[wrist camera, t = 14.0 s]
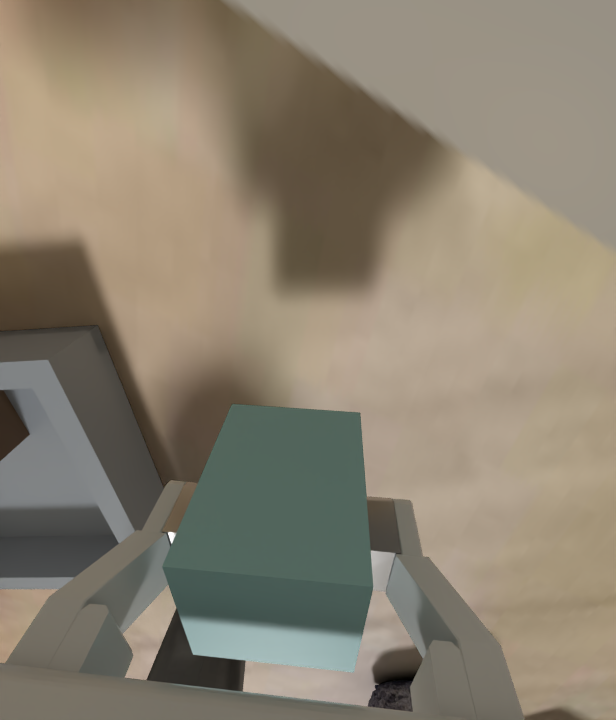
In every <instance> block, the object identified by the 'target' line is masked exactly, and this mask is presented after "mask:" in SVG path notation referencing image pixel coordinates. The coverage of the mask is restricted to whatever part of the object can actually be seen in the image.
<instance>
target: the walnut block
mask: <svg viewBox="0 0 616 720" xmlns="http://www.w3.org/2000/svg"><path fill="white" fill-rule="evenodd" d="M29 435H30V433H29V432H28V430H27V429H26V427H25V425H24V424H23V422H22V420H21V419H20V417H19V415H18V414H17V412H16V410H15V409H14V407H13V405H12V404H11V402H10V400H9V399H8V397H7V395H6V394H5V392H4V390H0V461H1V460H2V459H3V458H5V457H6V456H7V455H8V454H9V453H10V452H11V451H12V450H13V449H14V448H16V447H17V446H18V445H19V444H20V443H21V442H22V441H23V440H24V439H25V438H27V437H28V436H29Z"/></svg>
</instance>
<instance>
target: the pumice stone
mask: <svg viewBox="0 0 616 720" xmlns="http://www.w3.org/2000/svg"><path fill="white" fill-rule="evenodd" d="M412 682H413V680H396V681H392V682H386V683H385V682H384V683H383V684H380V685H375V688H376V690H375V691H373V693H372V696H371V699H370V700H369V703H368V707H376V708H384V709H393V710H401V711H409V712H413V708H412V699H411V691H410V686H411V684H412Z"/></svg>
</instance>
